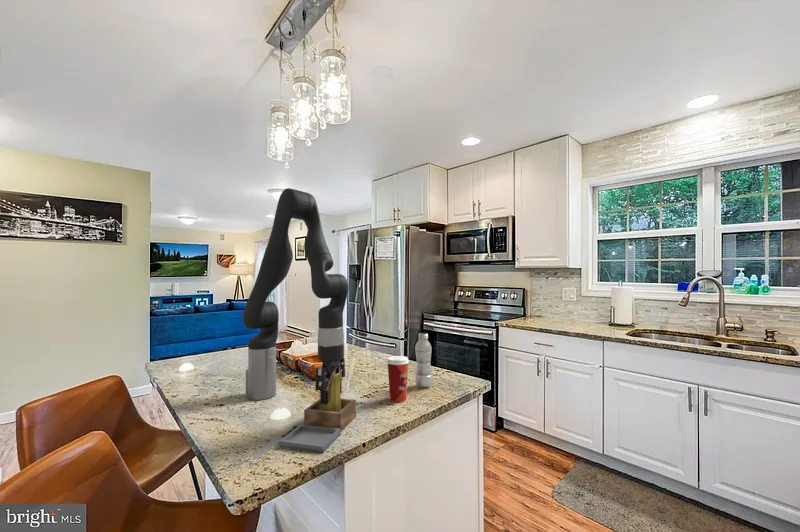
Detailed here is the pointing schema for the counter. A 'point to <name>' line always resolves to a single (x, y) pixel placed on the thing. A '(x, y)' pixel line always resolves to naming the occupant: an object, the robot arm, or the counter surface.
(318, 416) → the brown wooden box
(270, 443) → the chef's knife
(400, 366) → the paper cup
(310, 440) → the tray
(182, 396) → the counter surface
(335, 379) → the vase
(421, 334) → the plastic bottle
